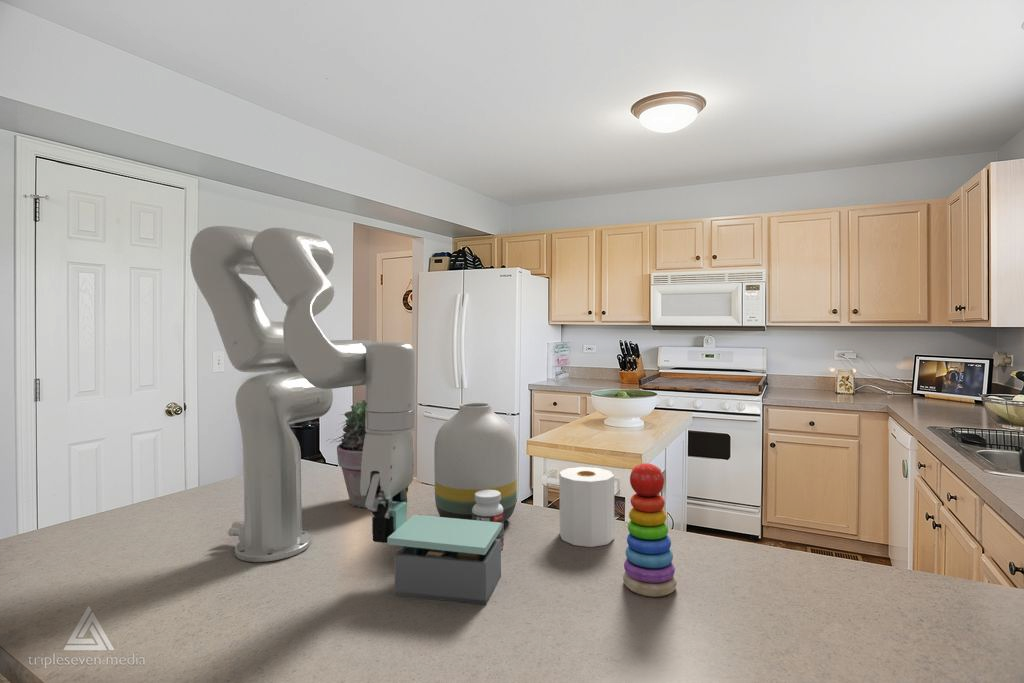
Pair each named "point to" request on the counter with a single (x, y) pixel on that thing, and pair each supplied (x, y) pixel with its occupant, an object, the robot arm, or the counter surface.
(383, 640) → the counter surface
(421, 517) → the mint slab with cube
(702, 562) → the counter surface
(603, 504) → the toilet paper
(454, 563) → the tub
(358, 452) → the potted plant
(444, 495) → the vase
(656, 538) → the stacking toy
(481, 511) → the pill bottle
